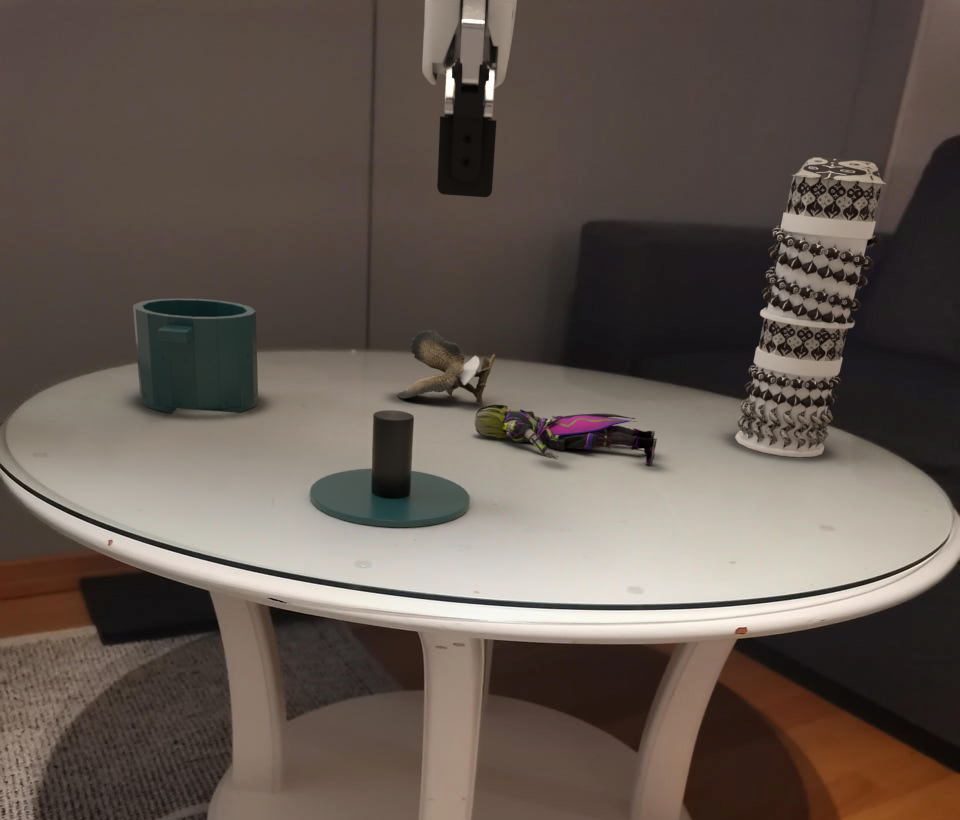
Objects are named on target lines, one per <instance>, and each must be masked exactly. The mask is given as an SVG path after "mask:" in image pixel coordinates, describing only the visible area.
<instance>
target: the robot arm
mask: <svg viewBox="0 0 960 820" xmlns="http://www.w3.org/2000/svg"><path fill="white" fill-rule="evenodd" d="M517 2H518V0H424V15H423V16H424V19H423V20H424V21H423V45H422V63H421V64H422V65H421V71H422V74H423V76H424V77H425V79H426V80H427V81H428V82H429V84H431V85H432V86H433V85H434V86H436V85H437V84H438V83H437V82H438V75H445V88H444V89H445V92H444V110H443V111H444V112H443V114H444V115H443V116H442V115H440V116H439V134H438V159H437V160H438V161H437V180H436V181H437V182H436V183H437V184H436V185H437V186H436V189H437V191H438V192H439V193H440V194H441V195H444V196H445V195H447V196H459V197H460V196H461V197H474V198H475V197H476V198H488V197H490V196H491V194H492V193H493V183H494V182H493V181H494V167H495V166H494V165H495V150H496V135H497V120H496V119H493V117H494V101H495V89H497V88H498V87H500V85H502V84H503V83H504V81H505V79H506V76H507V70H508V65H509V60H510V54H511V47H512V41H513V37H514V29H515V20H516V13H517V4H518V3H517Z"/></svg>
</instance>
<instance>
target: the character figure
mask: <svg viewBox="0 0 960 820" xmlns="http://www.w3.org/2000/svg"><path fill="white" fill-rule="evenodd" d="M630 419H631V420H633V422H636V423H637V420H636V417H630V416H624V415H619V414H615V413H614V414H613V413H579V414H569V415H564V416H563V415H556V416H555V415H552V416H551V418H547V417H542V418H541V417H539V416H536V415H535V412H534V411H531V410H530V411H527V410H523V409H519V410H517V409H508V406H507V405H506V404H505V405H504V404H496V403H494V404H489V405H486V406H484V407H481V408H479V409H478V410H477V411H476V413H475V418H474V428H475V431H476V432H477V434H478V435H480V436H483V437H486V436H488V437H489V436H490V437H494V438H496V439H498V440H499V439H505V438H506V437H507V436H508V435H509V437H510V438H511V439H512V441H514V442H515V443H519V444H520V443H523V442H524V443H531V444H532V445H534V446H535V447H536V449H538V450H539V451H540V452H541V453H542V455H544V456H546V457H547V458H549V459H554V460H558V458H560V456H559V455H556V454H554V453H553V452H552V450H550V449H555V450H561V451H565V450H566V449H575V450H576V449H578V450H583V451H589V450H592V449H595V448H600V447H606V448H608V449H610V450H612V448H611V447H612V446H626V447H630V450H631V451H638V452H643V453H644V454H645V462H646V464H648V465H652V464H653V462H654V458H655V450H656V446H657V441H658V439H657V438H656V437H655V434H656V431H655V430H647V431H645V430H640V429H638V428H635V427H634V428H633V429H632V428H629V427H625V426H622V425H621V424H625V423H630V422H631V420H630ZM619 424H620V425H619Z"/></svg>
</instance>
